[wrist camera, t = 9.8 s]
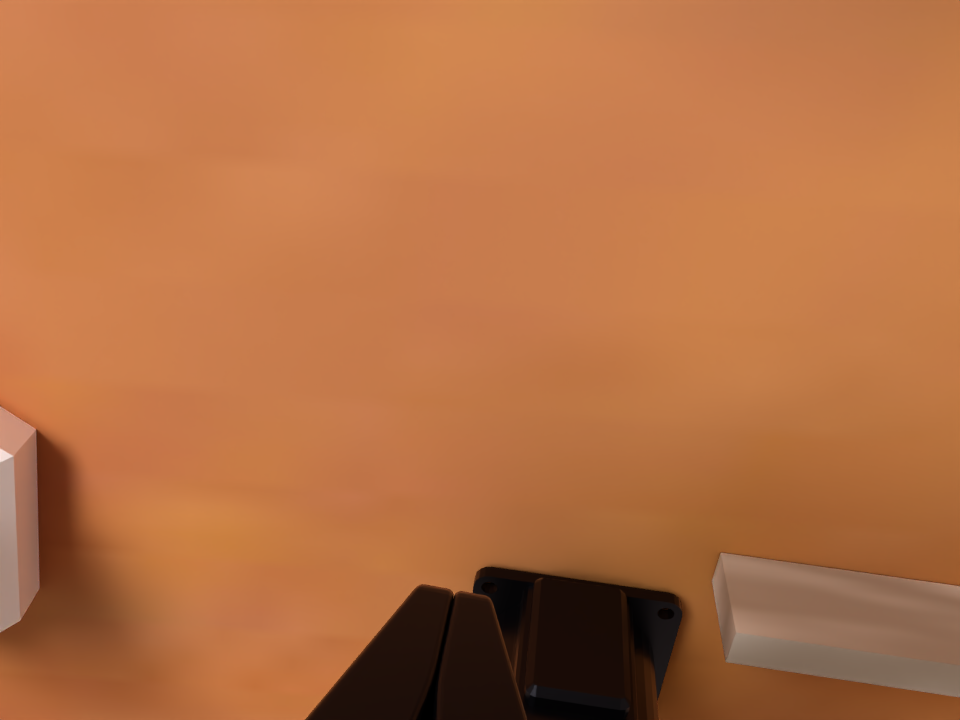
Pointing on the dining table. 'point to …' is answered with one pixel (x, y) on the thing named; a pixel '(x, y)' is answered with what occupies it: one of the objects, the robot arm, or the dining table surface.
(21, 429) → the white bust sculpture
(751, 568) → the white rectangular frame
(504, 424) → the dining table surface
